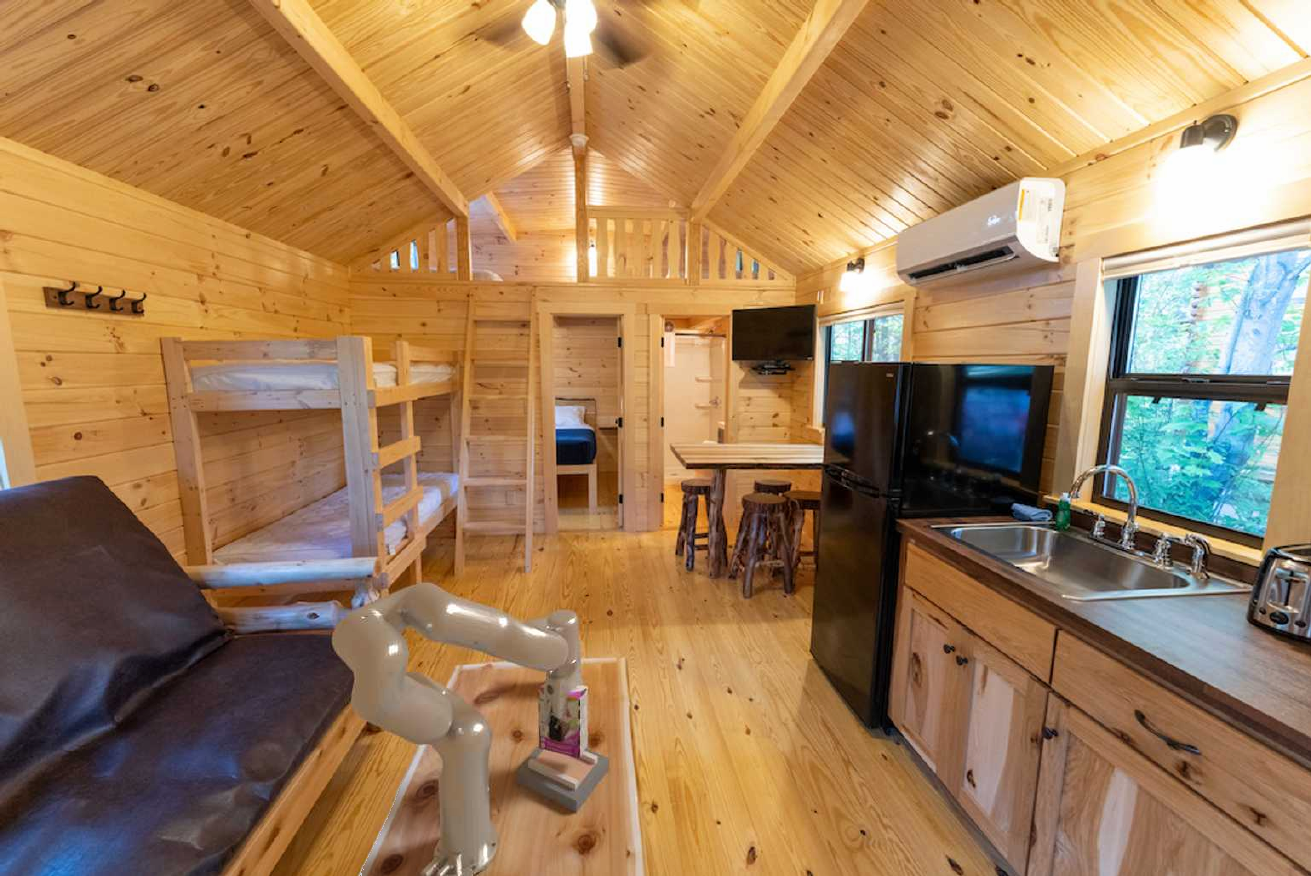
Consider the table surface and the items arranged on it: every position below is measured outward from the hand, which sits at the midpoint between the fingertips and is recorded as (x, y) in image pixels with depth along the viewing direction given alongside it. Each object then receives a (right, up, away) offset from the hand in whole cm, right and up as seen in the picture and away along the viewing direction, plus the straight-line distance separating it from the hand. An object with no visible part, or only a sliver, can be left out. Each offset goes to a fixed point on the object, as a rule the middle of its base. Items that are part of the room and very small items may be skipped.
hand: (563, 730), depth 123 cm
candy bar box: (0, -5, +1) cm, 5 cm away
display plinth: (0, -12, +2) cm, 12 cm away
